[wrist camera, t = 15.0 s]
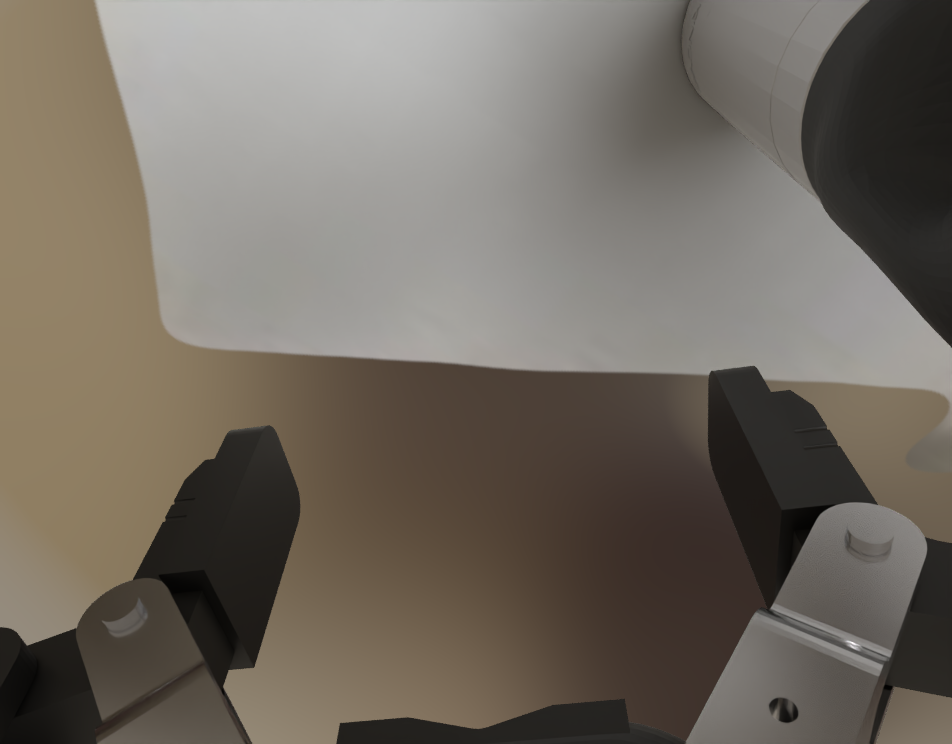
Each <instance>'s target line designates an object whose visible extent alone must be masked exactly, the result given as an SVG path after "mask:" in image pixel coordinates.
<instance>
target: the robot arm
mask: <svg viewBox="0 0 952 744" xmlns="http://www.w3.org/2000/svg"><path fill="white" fill-rule="evenodd" d="M681 47H682V55H683V63H684V66H685V69H686V72H687V75H688V78H689V80H690V82H691V83H692V85H693V87H694V88H695V90H696V91H697V93H698V94H699V95H700V96H701V97H702V98H703V99H704V100H705V101H706V102H707V103H708V104H709V105H710V106H711V107H713V108H714V109H715V110H716V111H717V112H718V113H719V114H720V115H721V116H722V117H723V118H724V119H726V120H727V121H728V122H729V123H730V124H731V125H732V126H734V127H735V128H736V129H737V130H738V131H739V132H740V133H742V134H743V135H744V136H745V137H746V138H747V139H748V140H750V141H751V142H752V143H753V144H754V145H755V146H756V147H758V148H759V149H760V150H761V151H762V152H763V153H764V154H766V155H767V156H768V157H769V158H770V159H771V160H772V161H774V162H775V163H776V164H777V165H778V166H779V167H780V168H781V169H783V170H784V171H785V172H786V173H787V174H788V175H789V176H791V177H792V178H793V179H794V180H795V181H796V182H798V183H799V184H800V185H801V186H803V187H804V188H805V189H806V190H807V191H808V192H809V193H811V194H812V195H813V196H814V197H815V198H816V199H817V200H819V201H820V202H821V203H822V205H823V207H824V209H825V210H826V212H827V213H828V215H829V216H830V217H831V219H832V220H833V221H834V222H835V223H836V225H837V226H838V227H839V228H840V229H841V230H842V231H843V232H845V233H846V234H847V235H848V236H849V237H850V238H851V239H852V240H853V241H854V242H855V243H856V244H857V245H858V246H859V247H860V248H861V249H862V250H863V251H864V252H865V253H866V254H867V255H868V256H869V257H870V258H871V260H872V261H873V262H874V263H875V264H876V265H877V266H878V267H879V268H880V269H881V270H882V271H883V273H884V274H885V275H886V276H887V277H888V278H889V279H890V281H891V282H892V283H893V284H894V285H895V286H896V287H897V289H898V290H899V291H900V292H901V293H902V294H903V295H904V297H905V298H906V299H907V300H908V301H909V302H910V303H911V304H912V306H913V307H914V308H915V309H916V310H917V311H918V312H919V314H920V315H921V316H922V317H923V318H924V319H925V320H926V321H927V322H928V323H929V325H930V326H931V327H932V328H933V329H934V330H935V331H936V332H937V333H938V334H939V335H940V336H941V337H942V338H943V339H944V340H945V341H946V342H947V343H948V344H949V345H950V346H951V347H952V0H691V1H690V3H689V5H688V8H687V12H686V16H685V19H684V23H683V30H682V42H681ZM708 385H709V388H708V392H709V393H708V447H709V455H710V461H711V466H712V470H713V473H714V475H715V478H716V481H717V483H718V486H719V488H720V491H721V493H722V496H723V498H724V501H725V503H726V506H727V508H728V511H729V513H730V516H731V518H732V521H733V523H734V526H735V528H736V531H737V534H738V536H739V539H740V541H741V543H742V546H743V549H744V551H745V553H746V556H747V559H748V561H749V564H750V566H751V568H752V571H753V574H754V576H755V579H756V581H757V584H758V586H759V589H760V591H761V594H762V596H763V599H764V601H765V604H766V606H767V609H765V608H760V609H758V610H757V611H756V613H755V614H754V616H753V617H752V619H751V621H750V622H749V624H748V626H747V628H746V630H745V632H744V634H743V636H742V638H741V639H740V641H739V643H738V645H737V647H736V649H735V651H734V653H733V655H732V657H731V658H730V660H729V662H728V664H727V666H726V668H725V670H724V672H723V673H722V675H721V677H720V679H719V681H718V683H717V685H716V686H715V688H714V690H713V692H712V694H711V696H710V698H709V700H708V702H707V704H706V705H705V707H704V709H703V711H702V713H701V715H700V717H699V719H698V721H697V722H696V724H695V726H694V728H693V730H692V732H691V734H690V735H689V737H688V739H687V741H684V740H682V739H680V738H678V737H676V736H674V735H671V734H669V733H667V732H664V731H662V730H659V729H656V728H652V727H649V726H646V725H642V724H636V723H631V722H628V716H627V710H626V704H625V699H620V700H607V701H596V702H584V703H574V704H573V703H572V704H561V705H552V706H549V707H546V708H543V709H540V710H537V711H534V712H531V713H528V714H525V715H522V716H519V717H517V718H513V719H511V720H507V721H505V722H502V723H499V724H496V725H493V726H490V727H486V728H483V729H471V728H465V727H460V726H454V725H448V724H443V723H437V722H431V721H425V720H420V719H414V718H396V719H384V720H372V721H360V722H349V723H340V726H339V732H338V738H337V744H876V742H877V739H878V736H879V733H880V730H881V727H882V724H883V721H884V718H885V715H886V712H887V709H888V706H889V703H890V700H891V697H892V694H893V691H894V688H895V687H900V688H905V689H910V690H915V691H920V692H925V693H930V694H936V695H941V696H946V697H951V698H952V543H947V542H941V541H937V540H933V539H929V538H926V537H924V536H923V534H922V532H921V531H920V530H919V528H918V527H917V526H916V525H915V524H914V523H913V522H912V521H910V520H909V519H908V518H906V517H905V516H903V515H901V514H900V513H898V512H896V511H894V510H891V509H889V508H886V507H883V506H879V505H878V504H877V502H876V501H875V499H874V498H873V496H872V495H871V493H870V492H869V490H868V489H867V487H866V486H865V484H864V482H863V481H862V479H861V478H860V476H859V475H858V473H857V472H856V470H855V468H854V467H853V465H852V464H851V462H850V461H849V459H848V458H847V456H846V455H845V453H844V452H843V450H842V448H841V447H840V446H838V445H837V441H836V439H835V438H834V436H833V435H832V433H831V432H830V430H827V426H826V424H825V423H824V421H823V419H822V418H821V416H820V415H819V413H818V412H817V410H816V409H815V407H814V406H813V405H812V404H810V403H809V402H807V401H806V400H804V399H803V398H801V397H800V396H798V395H797V394H795V393H794V392H792V391H791V390H786V391H778V392H770V390H769V388H768V386H767V385H766V383H765V381H764V379H763V378H762V376H761V374H760V372H759V371H758V369H757V368H756V367H755V366H748V367H740V368H732V369H724V370H716V371H711V372H710V375H709V384H708ZM174 502H175V504H174V505H172V506H171V507H170V509H169V511H168V513H167V515H166V517H165V518H166V521H165V522H163V523H162V525H161V527H160V529H159V531H158V533H157V534H156V536H155V539H154V540H153V542H152V544H151V546H150V548H149V550H148V552H147V554H146V555H145V557H144V559H143V561H142V563H141V565H140V567H139V569H138V571H137V573H136V575H135V577H134V578H133V580H131V581H128V582H125V583H122V584H120V585H118V586H116V587H114V588H112V589H110V590H109V591H107V592H106V593H104V594H103V595H102V596H100V597H99V598H98V599H97V600H96V601H94V602H93V603H92V604H91V605H90V606H89V608H88V609H87V610H86V611H85V613H84V614H83V615H82V617H81V619H80V621H79V623H78V626H77V628H75V629H73V630H70V631H67V632H64V633H62V634H59V635H56V636H53V637H50V638H48V639H45V640H42V641H39V642H36V643H34V644H31V645H28V646H27V645H26V644H25V643H24V641H23V640H22V639H21V638H20V636H19V635H18V633H17V632H15V631H14V630H12V629H9V628H2V627H0V744H252V742H251V740H250V738H249V736H248V734H247V732H246V730H245V728H244V726H243V724H242V722H241V721H240V718H239V716H238V714H237V712H236V710H235V708H234V706H233V705H232V702H231V701H230V699H229V697H228V695H227V693H226V691H225V690H224V688H223V685H224V682H225V679H226V676H227V673H228V670H233V669H244V668H254V667H255V663H256V660H257V657H258V653H259V650H260V647H261V643H262V640H263V637H264V634H265V630H266V627H267V624H268V620H269V617H270V614H271V610H272V607H273V604H274V600H275V597H276V594H277V590H278V587H279V584H280V581H281V577H282V574H283V571H284V568H285V564H286V561H287V558H288V554H289V551H290V548H291V544H292V541H293V538H294V535H295V531H296V528H297V525H298V521H299V516H300V497H299V491H298V488H297V485H296V482H295V480H294V477H293V474H292V472H291V469H290V466H289V464H288V461H287V458H286V456H285V453H284V451H283V448H282V446H281V443H280V440H279V438H278V436H277V433H276V431H275V429H274V428H273V427H271V426H261V427H253V428H245V429H238V430H231V431H229V432H228V433H227V435H226V437H225V439H224V441H223V443H222V445H221V447H220V449H219V451H218V453H217V455H216V457H215V459H210V460H205V461H204V462H203V463H202V464H201V465H200V466H199V467H198V468H197V469H195V471H193V473H191V474H190V475H189V476H188V477H187V478H186V479H185V481H184V483H183V485H182V486H181V488H180V490H179V492H178V494H177V496H176V498H175V500H174Z"/></svg>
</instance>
